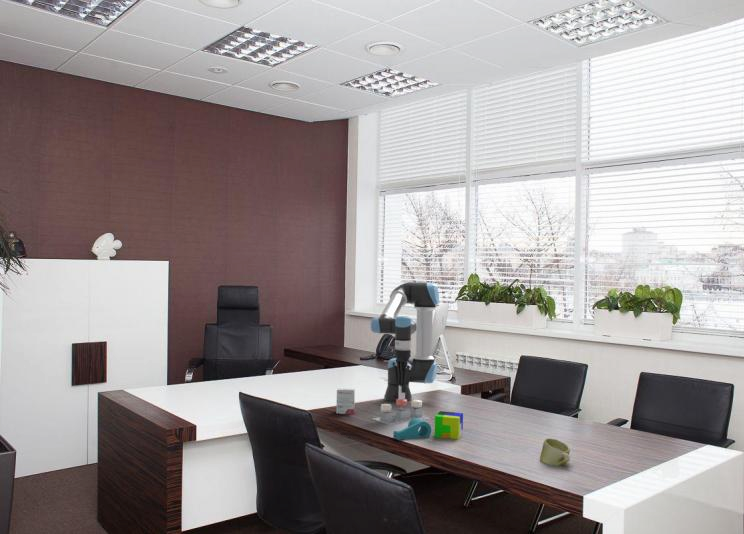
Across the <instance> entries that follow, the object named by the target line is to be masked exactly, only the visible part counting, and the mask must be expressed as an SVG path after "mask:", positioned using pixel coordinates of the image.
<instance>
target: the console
mask: <svg viewBox="0 0 744 534" xmlns="http://www.w3.org/2000/svg"><path fill="white" fill-rule="evenodd" d="M414 418H419V419H421V420H423V421H426V420H430V419H431V418H430V417H427V416H424V415H423V407H419V408H415V407H411V406H410V412H408V409H405V408H403V410H402V411H401V410H400V408H397V409H395V414H393V412H392V411H390V412H388V413H385V412H383V411H381V410H380V411H379V417H375V418H374V417H373V418H372V420H373V421H375V422H376V421H377V422H379V423H381V424H385V425H387V426H392V425H398V424H399V425H400V424H406V423H409V422H410V421H411V420H412V419H414Z"/></svg>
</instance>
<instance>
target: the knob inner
mask: <svg viewBox="0 0 744 534" xmlns="http://www.w3.org/2000/svg"><path fill="white" fill-rule="evenodd" d="M410 404H411V406H410V408H411V407H415V408H419V407H421V408H423V407H422V406H423V401H422V400H419V399H413V400H412V401H410Z"/></svg>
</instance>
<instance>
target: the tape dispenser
mask: <svg viewBox="0 0 744 534" xmlns="http://www.w3.org/2000/svg"><path fill="white" fill-rule="evenodd" d="M431 435H432V427H431V425H430V424H429V422H427V421H426V420H421V419H419V418H414V419H412V420H411V421H410V422H408V424H407V427H405V428H403V429H401V430H395V431H393V435H392V436H393V438H394V437H396V438H395V439H396V440H398V441H402V440H401V439H405V440H406V439H415V438H416V439H417V438H425V437H427V438H428V437H430V436H431Z"/></svg>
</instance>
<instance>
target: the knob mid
mask: <svg viewBox="0 0 744 534" xmlns="http://www.w3.org/2000/svg"><path fill="white" fill-rule="evenodd" d="M395 405H396V406H397V407H399V409H400V410H401V411H402V410H403V409H404V407H407V406H408V402H407V399H403V400H399V399H396V404H395Z"/></svg>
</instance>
